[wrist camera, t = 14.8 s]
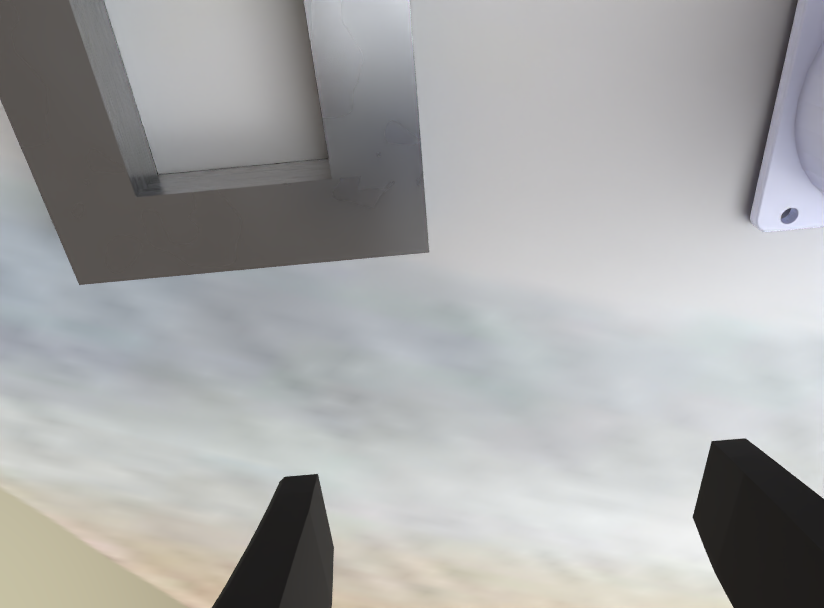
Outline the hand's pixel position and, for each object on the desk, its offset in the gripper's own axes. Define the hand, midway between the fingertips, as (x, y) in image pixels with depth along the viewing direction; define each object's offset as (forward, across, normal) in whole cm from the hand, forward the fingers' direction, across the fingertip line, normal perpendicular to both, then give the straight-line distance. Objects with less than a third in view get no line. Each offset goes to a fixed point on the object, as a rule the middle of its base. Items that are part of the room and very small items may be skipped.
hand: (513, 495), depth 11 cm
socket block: (+9, +6, -6) cm, 13 cm away
